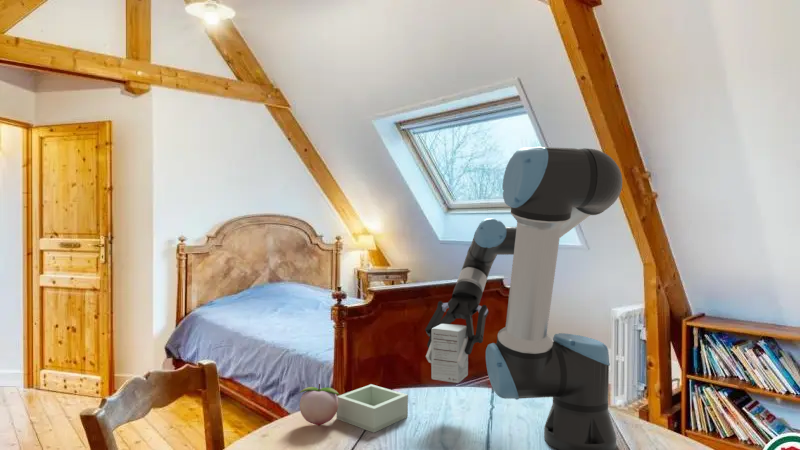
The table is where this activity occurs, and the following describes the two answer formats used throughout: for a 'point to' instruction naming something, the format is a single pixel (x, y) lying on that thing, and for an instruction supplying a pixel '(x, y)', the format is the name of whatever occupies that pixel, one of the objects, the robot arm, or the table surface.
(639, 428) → the table surface
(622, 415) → the table surface
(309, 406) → the decorative fruit
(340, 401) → the open square container
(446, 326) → the supplement box
